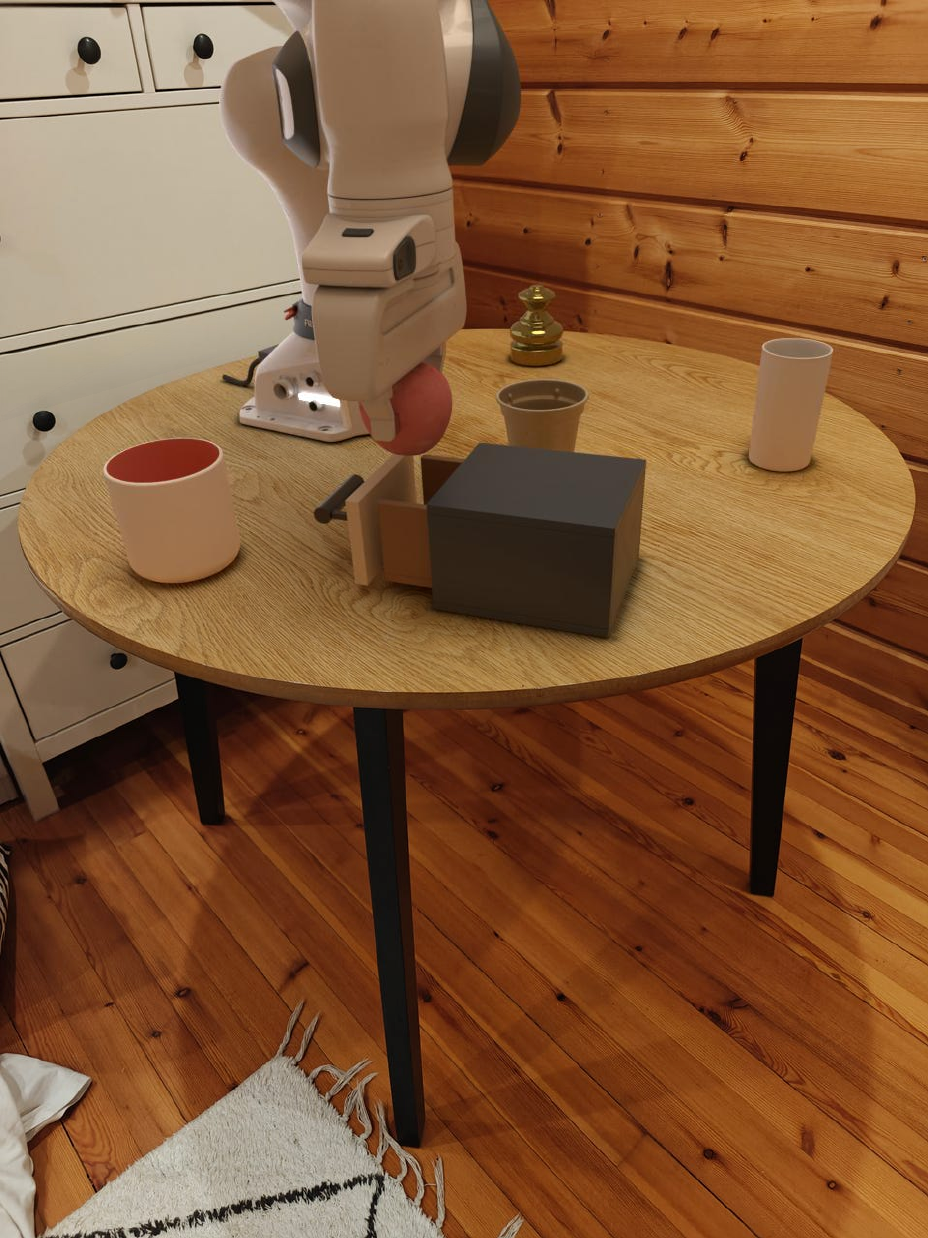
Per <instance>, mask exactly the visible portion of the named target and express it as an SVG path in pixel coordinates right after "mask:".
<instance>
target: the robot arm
mask: <svg viewBox="0 0 928 1238" xmlns="http://www.w3.org/2000/svg"><path fill="white" fill-rule="evenodd" d="M271 1H272V3H274V4H275V5H276V6H277V7H278V8H279V10H280V11H281V12H282V13H283V15H284V16H285V18H286V20H287V21H288V22H289V24H290V26H291V28H292V30H293V33H292V34H291V35H290V36H289V37H288V39H287V40H286V41H285V42H284V44H283V45H279V46H278V45H277V46H272V47H268V48H265V49H263V50H260V51H258V52H255V53H252V54H250V55H248V56H246V57H244V58H241V59H239V60H237V61H235V62H234V63H233V64H231V65H230V66H229V68H228V69H227V71H226V72H225V74H224V76H223V79H222V81H221V86H220V89H219V98H218V99H219V103H218V104H219V106H218V107H219V115H220V121H221V125H222V129H223V132H224V133H225V136H226V138H227V141H228V143H229V144H230V146H231V147H232V149H233V151H234V152H235V153H236V155H237V156H238V157H239V158H240V159H241V160H242V161H243V162H244V163H245V164H247V165H248V166H249V167H251V168H252V169H253V170H254V171H256V172H257V173H258V174H259V175H260V176H261V177H262V178H263V179H264V181H266V183H267V184H268V185H269V187H270V188H271V190H272V191H273V193H274V195H275V196H276V198H277V200H278V202H279V204H280V206H281V208H282V210H283V212H284V214H285V217H286V220H287V222H288V223H287V224H288V225H289V228H290V232H291V236H292V240H293V245H294V246H293V247H294V252H295V257H296V263H297V268H298V276H299V281H300V288H301V296H302V298H300V299H298V300H297V301H295V302H294V303H293V304H291V306H290V307H289V308H286V309H285V310H284V311H283V313H284V314H285V313H287V314H286V316H285V317H284V320H285V321H288V320H290V319H292V318H293V322H294V323H293V328H292V332H291V333H290V334H289V335H288V336H287V337H285V339H284V340H282V341H281V342H280V343H278V344H275V345H273V346H269V347H267V348H264V349H261V350H258V351H257V353H258V357H257V358H255V359H254V360H253V361H252V362H251V363H250V365H249V367H248V372H247V375H246V376H247V377H246V379H244V380H240V379H237V378H235V377H232V376H230V375H228V374H222V376H221V378H222V380H224V381H226V382H229V383H231V384H233V385H235V386H239V387H247V386H249V385H250V384H251V383H252V381H253V378H254V396H253V397H251V398H250V399H248V401H246V403H244V404H243V405H242V407H241V408H240V410H239V413H238V415H239V422H240V424H243V425H247V426H251V427H256V428H261V429H266V430H269V431H274V432H275V431H276V432H279V433H283V434H290V435H294V436H299V437H303V438H309V439H311V440H312V439H313V440H317V441H322V442H326V443H327V442H328V443H334V442H335V443H336V442H339V441H343V440H344V441H345V440H347V439H351V438H353V437H358V436H362V435H363V436H364V435H370V433H369V432H368V430H367V428H366V427H365V425H364V422H363V420H362V417H361V414H360V410H359V403H358V402H360V403H361V405H362V406H363V408H364V410H365V412H366V414H367V415H368V417H369V418H370V423H371V432H372V436H371V438H372V437H373V438H374V439H375V440H376V441H385V442H390V441H392V440H393V439H394V438H395V437H396V436H397V435H398V434H399V433H400V426H399V423H400V420H399V413H394V412H393V409H392V406H391V402H390V399H391V398H392V396H393V392H392V386H393V385H394V384H395V383H396V382H397V381H399V380H400V379H401V378H402V377H404V376H405V375H406V374H407V373H408V372H410V371H411V370H412V369H413V368H414V367H416V366H417V365H418V364H419V363H421V362H422V363H426V364H428V365H431V366H433V367H434V368H436V369H437V370H438V371H439V372H441V373H442V374H443V369H444V365H445V359H446V354H447V345H446V342H447V341H449V340H450V339H451V338H452V337H453V336H455V335H456V334H457V333H459V331H461V330H462V329H463V328H464V326H465V323H466V318H467V310H468V309H467V308H468V307H467V296H466V295H467V294H466V282H465V273H464V264H463V263H464V262H463V257H462V252H461V248H460V245H459V243H458V242H457V241H456V226H455V207H454V206H455V205H454V182H453V177H452V173H451V170H450V167H482V166H484V165H485V164H486V163H487V162H488V161H489V160H491V159H492V158H493V157H494V156H495V155H496V154H497V153H498V152H499V150H500V149H501V148H502V147H503V145H504V144H505V143H506V142H507V140H508V139H509V137H510V136H511V135H512V133H513V131H514V129H515V127H516V125H517V124H518V121H519V118H520V113H521V107H522V106H521V105H522V83H521V77H520V71H519V67H518V66H519V65H518V63H517V59H516V57H515V53H514V50H513V47H512V46H511V43H510V41H509V39H508V37H507V35H506V34H505V31H504V29H503V28H502V26H501V23H500V22H499V20H498V18H497V16H496V15H495V13H494V10H493V8H492V7H491V3H490V2H489V0H271ZM255 369H256V371H255ZM373 438H372V439H373ZM374 439H373V440H374ZM375 440H374V441H375ZM376 441H375V442H376Z"/></svg>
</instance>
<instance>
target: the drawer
mask: <svg viewBox="0 0 928 1238" xmlns="http://www.w3.org/2000/svg"><path fill="white" fill-rule="evenodd" d="M465 459H466V458H459V457H451V456H441V455H433V454H432V455H431V454H422V456H421V457H420V470H421V471H420V472H421V484H422V485H421V486H422V487H421V489H422V502H423V503H418V502H417V490H416V489H417V488H416V477H415V476H416V475H415V461H414V456H403V455H396V454H393V453H392V455H390V456H389V457H388V458H387V459H386V460H385V461H384V462H382V464H381V465H380V466H379V467H378V468H377V469H375V470H374V472H373V473H372V474H371V475H370V476H369V477H368V478H367V479H366V480H364V478H363V477H362V476H361V475H359V474H357V473H354V474H351V475H350V476H348V477H347V479H345V480H344V481H343V482H342V483H340V485H339V486H338V487H337V488H336V489H335V490H334V491H332V493H331V494H329V495H328V496H327V497H326V498H325V499H324V500H322V502H321V503H320V504H319V505H318V506H317V507H316V508H315V509H314V511H313V517H314V519H315V520H316V521H317V522H318V523H319V524H321V525H328V524H329V523H330V522H331V521H332V520H337V521H343V522H347V526H348V527H347V528H348V536H349V543H350V552H351V559H352V560H351V561H352V568H353V576H354V584H355V585H361V586H369V585H370V583H372V581H373V580H374V579H375V578H376V576H377V575H378V574H379V573H380V572H381V570H382V569H383V571H384V581H386V582H391V583H397V584H403V585H411V586H416V587H424V588H430V589H432V578H431V563H430V548H429V533H428V518H427V506H426V505H427V503H428V502H429V501H430V500H431V499H432V497H433V496H434V495H435V494H436V493H437V492H438V490H439V489H440V488H441V487H442V486H443V485H444V483H445V482H446V481H447V480H448V479H449V478H450V476H451V475H452V474H453V473H454V472H455V471H456V469H457V468H458V467H459V466H460V465H461V463H462V462H463V461H464V460H465ZM344 508H345V510H343V509H344Z"/></svg>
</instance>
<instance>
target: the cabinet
mask: <svg viewBox="0 0 928 1238" xmlns="http://www.w3.org/2000/svg"><path fill="white" fill-rule="evenodd" d="M464 459H465V460H464V461H463V462H462V463H461V465H460V466H459V467H458V468H457V469H456V471H455V472H454V473H453V474H452V475H451V476H450V478H449V479H448V480H447V481H446V482H445V483H444V485H443V486H442V487H441V488H440V489H439V490H438V492H437V493H436V494H435V495H434V496H433V497H432V499H431V500H430V501H429V502H428V503H427V505H426V506H427V518H428V533H429V548H430V563H431V578H432V588H431V590H432V591H431V592H432V606H433V610H436V611H441V612H448V613H454V614H459V615H464V616H465V615H466V616H472V617H476V618H477V617H478V618H483V619H484V618H485V619H491V620H497V621H502V622H509V623H513V624H520V625H521V624H522V625H527V626H532V627H539V628H543V629H545V628H546V629H551V630H557V631H562V632H563V631H564V632H569V633H574V634H582V635H587V636H588V635H589V636H594V637H599V638H600V637H601V638H606V639H608V638H610V634H611V632H612V630H613V627H614V625H615V622H616V620H617V617H618V614H619V612H620V609H621V607H622V604H623V601H624V599H625V596H626V593H627V591H628V588H629V586H630V583H631V581H632V578H633V576H634V573H635V570H636V568H637V565H638V562H639V560H640V559H639V558H640V546H641V545H640V544H641V532H642V521H643V520H642V519H643V507H644V495H645V494H644V493H645V482H646V470H647V459H644V458H636V457H634V458H633V457H625V456H616V455H614V456H613V455H605V454H595V453H586V452H575V451H574V452H567V451H557V450H547V449H538V448H528V447H518V446H509V444H496V443H490V442H489V443H488V442H478V443H477V445H476V446H475V447H474V448H473V449H472V451H471V452H470V453H469V454H468V455H467V456H466V457H465V458H464Z"/></svg>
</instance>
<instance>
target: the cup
mask: <svg viewBox="0 0 928 1238" xmlns="http://www.w3.org/2000/svg"><path fill="white" fill-rule="evenodd" d="M227 469H228V468H227V464H226V459H225V453H224V450H223V449H222V447H221V446H219V444H217V443H215V442H213V441H210V440H207V439H203V438H197V437H171V438H163V439H157V440H151V441H147V442H143V443H140V444H136V445H134V446H131V447H128V448H125V449H124V450H121V451H120V452H118V453H116V454H115V455H113V456H112V457H110V458H109V459H108V460H107V461H106V463H105V464H104V466H103V470H102V473H103V476H104V480H105V484H106V487H107V490H108V491H107V492H108V494H109V498H110V501H111V505H112V510H113V512H114V516H115V519H116V523H117V528H118V530H119V534H120V537H121V541H122V544H123V548H124V551H125V555H126V560H127V562H128V564H129V566H130V568H131V569H132V570H133V571H134V572H135V574H137V575H139V576H140V577H141V578H144V579H146V580H149V581H152V582H156V583H162V584H182V583H189V582H190V583H191V582H194V581H199V580H202V579H206V578H208V577H210V576H214V575H215V574H217V573H219V572H220V571H223V570H224V569H225V568H227V567H228V566H230V564H231V563H232V562H233V561H234V560H235V558H237V556H238V554H239V551H240V548H241V535H240V530H239V526H238V520H237V514H236V509H235V504H234V499H233V494H232V489H231V485H230V479H229V474H228V470H227Z"/></svg>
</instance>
